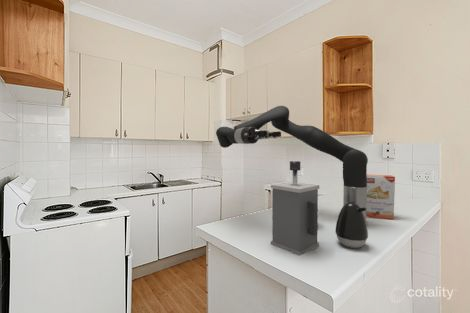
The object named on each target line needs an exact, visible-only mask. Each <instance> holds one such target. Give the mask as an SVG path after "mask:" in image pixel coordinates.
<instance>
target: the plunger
mask: <svg viewBox="0 0 470 313" xmlns="http://www.w3.org/2000/svg"><path fill="white" fill-rule="evenodd" d="M289 171H292V182H293V186H297V182H298V171H301V160H297V161H296V160H294V161H293V160H291V161H289Z"/></svg>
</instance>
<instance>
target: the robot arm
mask: <svg viewBox="0 0 470 313" xmlns="http://www.w3.org/2000/svg"><path fill="white" fill-rule="evenodd" d="M270 122H271V126H272V127H273V128H275V129H277V130H278V131H269V130H260V129H261V128H263V127H264V126H265V125H267V124H268V123H270ZM282 132H283V133H286V134H287V135H290V136H292V137H294V138H295V139H298V140H300V141H301V142H303V143H304V144H306V145H308V146H309V147H311V148H313V149H315V150H317V151H319V152H322V153H324V154H327V155H330V156H332V157H334V158H336V159H338V160H339V161H340V162H342V180H343V196H342V197H343V205H342V207H343V206H344V204H346V203H348V202H354V203H356V204H358V205H359V207H360V208H364V207H365V208H366V211H362V212H363V214H364V217H365V221H366V222H367V217H366V214H367V174H368V173H367V168H368V167H367V166H368V162H369V158H368V155H367V154H366V153H365V152H364V151H362V150H361V149H360V150H359V149H357V148H354V147H351V146H349V145H348V144H347V145H346V144H345V143H343V142H341V141H339V140H338V139H336V138H335V137H334V136H332V135H330V134H329V133H327V132H326V131H324V130H322V129H321V128H318V127H316V126H313V125H301V124H299V125H298V124H296V123H294V122H292V121H291V120H290V110H289V108H288V107H287V106H285V105H277V106H275V107H273V108H271V109H269V110H267V111H266V112H263V113H262V114H260V115H258V116H257V117H254V118H253V119H252V118H251V119H250V120H247V121H245V122H243V123H240V124H239V123H238V124H237V125H235V126H234V127H233V128H232V127H229V126H221V127H218V128H217V129H216V132H215V136H216V137H217V140H218V144H219V146H220V147H221V148H223V149H225V148H228V147H231V146H232V145H233V144H241V145H248V144H249V145H252V144H256V143H257V142H258V141H259V140H268V139H276V138H281V137H282Z"/></svg>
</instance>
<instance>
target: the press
mask: <svg viewBox="0 0 470 313" xmlns="http://www.w3.org/2000/svg"><path fill="white" fill-rule="evenodd" d="M270 189H272V217H271V218H272V221H271V222H272V227H271V228H272V229H271V230H272V239H271V241H270V245H273V246H275V247H277V248H279V249H282V250H285V251H287V252H289V253H292V254H294V255H296V256H301V255H303V254H305V253H308V252H309V251H312V250H313V249H315V248H317V247H319V246H320V242H318V216H319V215H318V213H319V212H318V211H319V210H318V203H319V202H318V201H319V200H318V199H319V198H318V197H319V191H318V190H319V189H320V185H319V184H313V183H306V182H299V181H297V186H293V181H288V182H287V181H285V182H281V183H275V184H270Z"/></svg>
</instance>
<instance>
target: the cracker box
mask: <svg viewBox="0 0 470 313" xmlns="http://www.w3.org/2000/svg"><path fill="white" fill-rule="evenodd" d="M395 184H396V177H395V176H394V175H387V174H385V175H383V174H368V173H367V214H366V218H373V219H384V220H393V221H394V220H395V219H394V216H395V186H396V185H395Z"/></svg>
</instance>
